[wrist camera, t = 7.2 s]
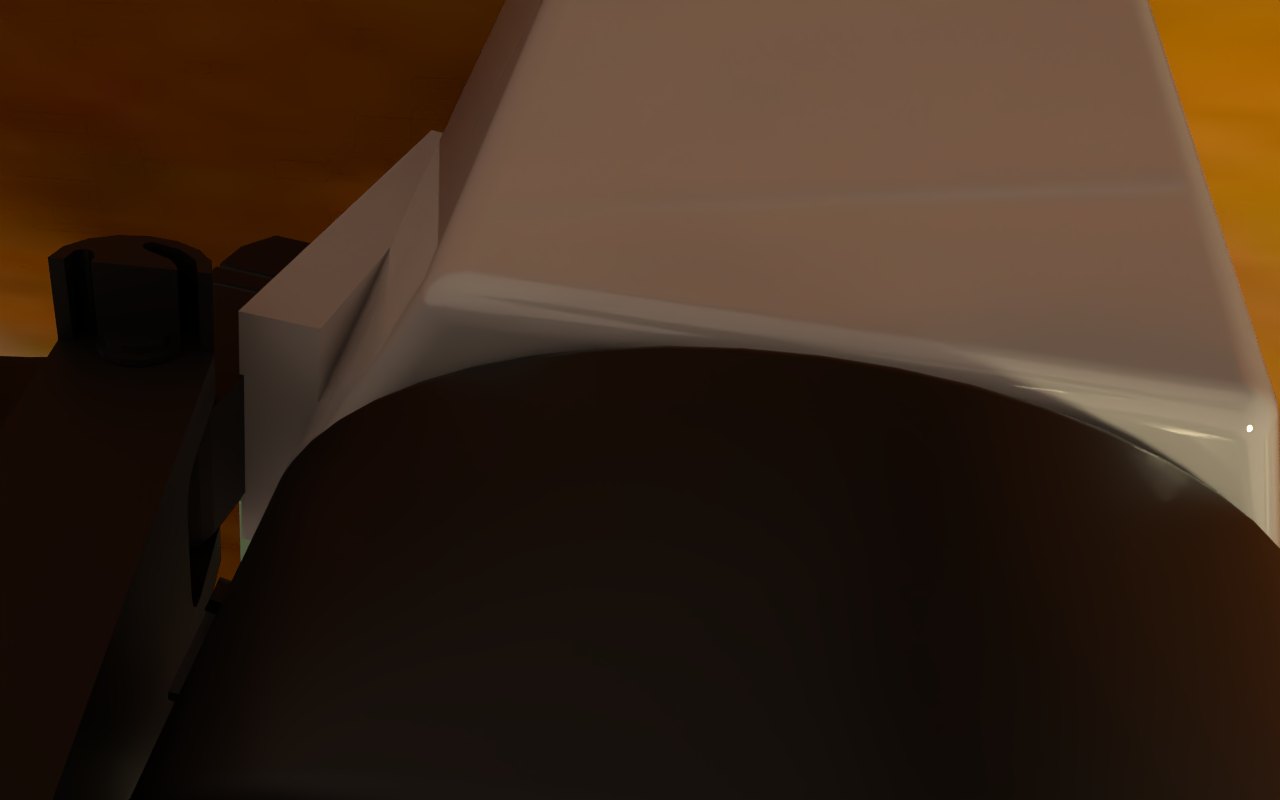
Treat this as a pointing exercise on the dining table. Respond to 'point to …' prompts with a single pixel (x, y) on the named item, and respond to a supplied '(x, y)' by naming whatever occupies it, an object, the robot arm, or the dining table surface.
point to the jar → (775, 437)
